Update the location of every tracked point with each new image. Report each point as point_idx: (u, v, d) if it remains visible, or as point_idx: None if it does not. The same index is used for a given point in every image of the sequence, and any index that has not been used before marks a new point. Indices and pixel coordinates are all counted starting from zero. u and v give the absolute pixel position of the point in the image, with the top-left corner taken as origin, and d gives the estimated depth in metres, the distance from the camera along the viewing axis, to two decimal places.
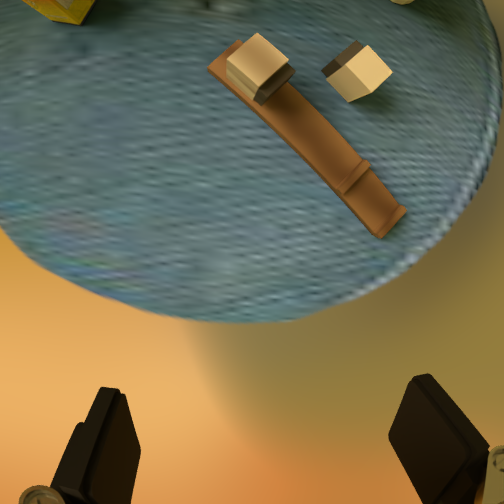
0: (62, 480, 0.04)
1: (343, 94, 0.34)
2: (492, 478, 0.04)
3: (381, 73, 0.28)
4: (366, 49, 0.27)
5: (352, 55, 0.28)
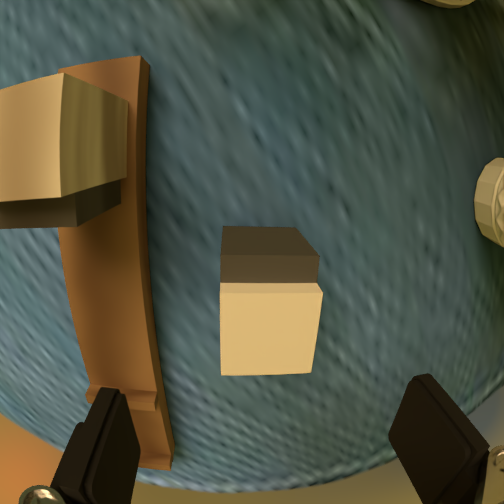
0: (62, 480, 0.04)
1: None
2: (492, 478, 0.04)
3: (283, 360, 0.13)
4: (308, 299, 0.12)
5: (271, 278, 0.13)
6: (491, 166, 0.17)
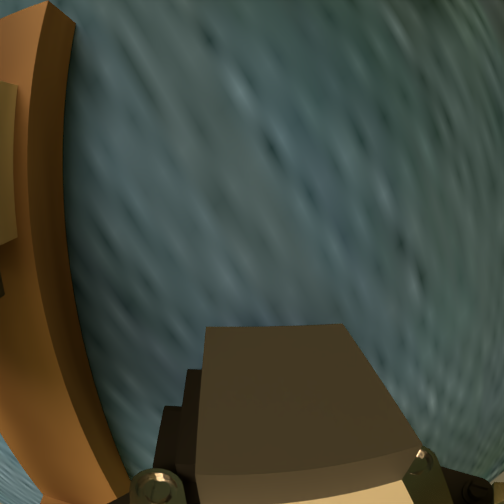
0: (177, 458, 0.06)
1: None
2: (409, 485, 0.05)
3: None
4: None
5: (314, 495, 0.04)
6: None
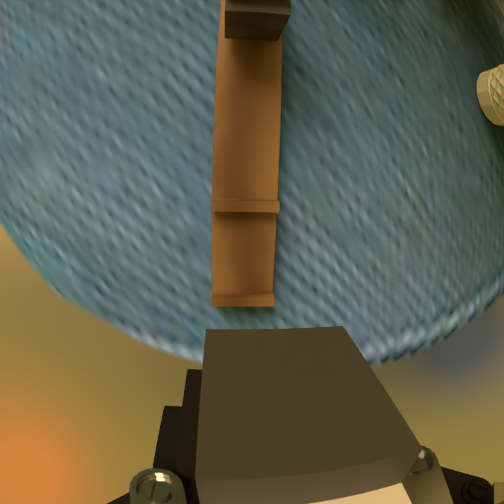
0: (177, 458, 0.06)
1: None
2: (409, 485, 0.05)
3: None
4: None
5: (313, 498, 0.04)
6: (484, 71, 0.23)
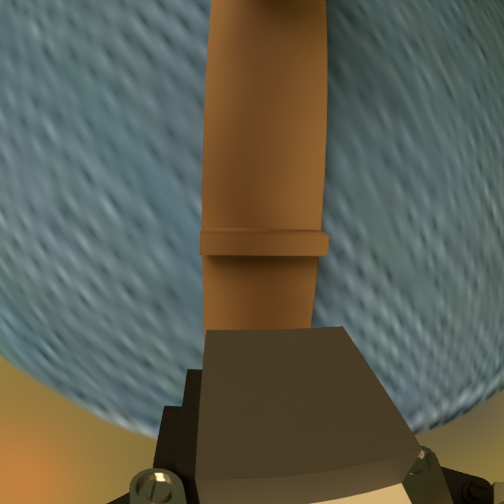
0: (177, 458, 0.06)
1: None
2: (409, 485, 0.05)
3: None
4: None
5: (313, 498, 0.04)
6: None
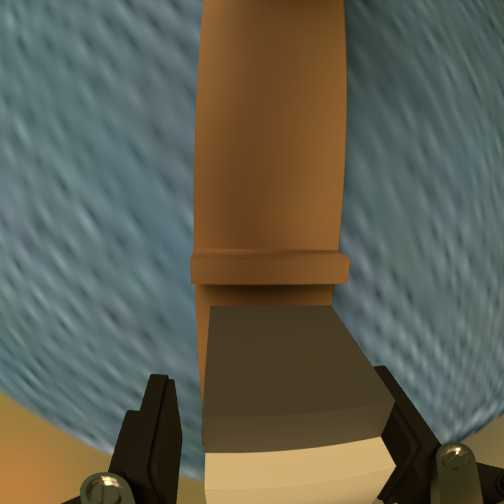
0: (127, 464, 0.05)
1: None
2: (445, 479, 0.05)
3: None
4: (370, 477, 0.05)
5: (302, 443, 0.06)
6: None
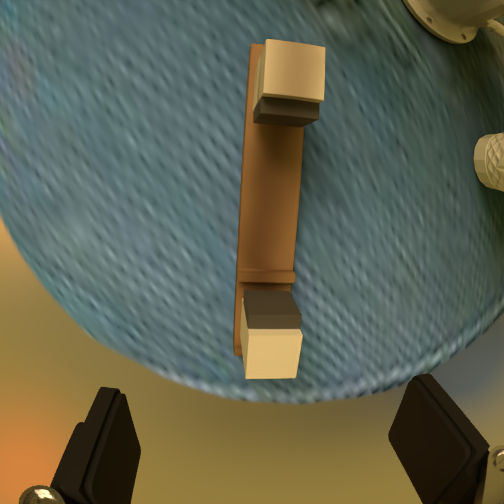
0: (62, 480, 0.04)
1: (241, 328, 0.29)
2: (492, 478, 0.04)
3: (280, 370, 0.24)
4: (295, 338, 0.23)
5: (275, 326, 0.24)
6: (482, 138, 0.29)
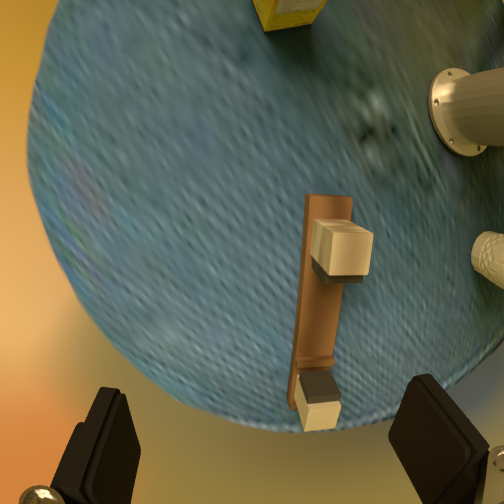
0: (62, 480, 0.04)
1: (296, 393, 0.40)
2: (492, 478, 0.04)
3: (326, 425, 0.34)
4: (336, 408, 0.34)
5: (324, 401, 0.34)
6: (480, 237, 0.38)
